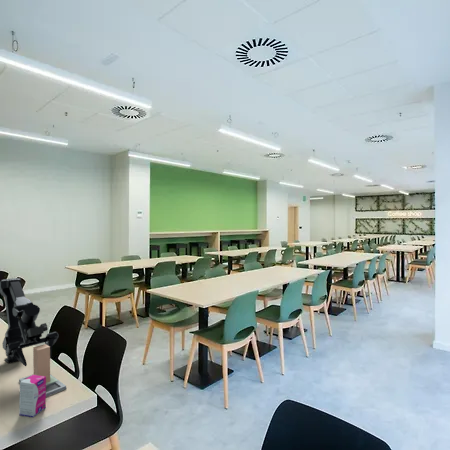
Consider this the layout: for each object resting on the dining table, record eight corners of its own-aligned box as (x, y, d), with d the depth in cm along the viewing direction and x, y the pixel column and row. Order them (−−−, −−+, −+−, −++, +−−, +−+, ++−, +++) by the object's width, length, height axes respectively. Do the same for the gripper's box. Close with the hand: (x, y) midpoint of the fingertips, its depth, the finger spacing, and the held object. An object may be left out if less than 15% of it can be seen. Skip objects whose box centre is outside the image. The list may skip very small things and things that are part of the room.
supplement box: (33, 418, 106) (33, 384, 106) (18, 415, 107) (18, 382, 107) (46, 408, 112) (46, 375, 112) (32, 406, 113) (32, 374, 113)
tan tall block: (33, 382, 127) (33, 347, 127) (45, 377, 131) (45, 344, 130) (38, 385, 124) (37, 350, 124) (50, 381, 128) (49, 346, 128)
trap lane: (19, 382, 130) (19, 378, 130) (45, 373, 138) (45, 369, 138) (38, 399, 117) (38, 396, 117) (66, 388, 124) (66, 385, 124)
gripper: (7, 323, 125) (17, 359, 118) (57, 313, 139) (68, 344, 133) (1, 338, 130) (10, 373, 124) (49, 327, 145) (60, 357, 138)
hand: (38, 361), depth 129 cm, fingers open, 9 cm apart
